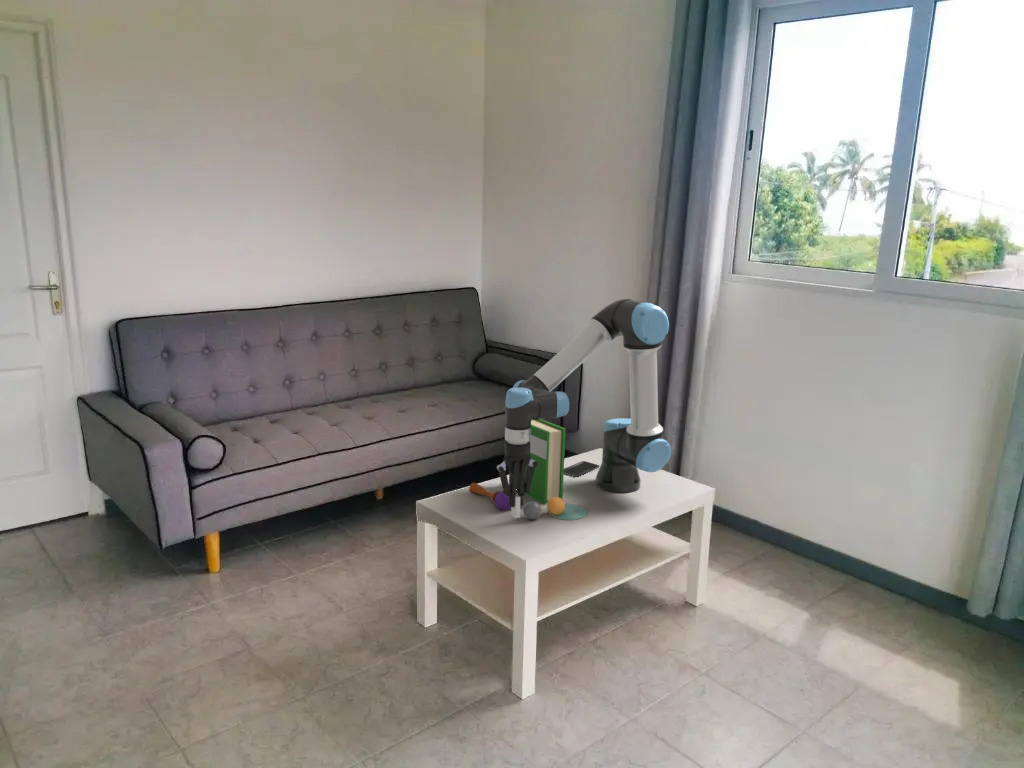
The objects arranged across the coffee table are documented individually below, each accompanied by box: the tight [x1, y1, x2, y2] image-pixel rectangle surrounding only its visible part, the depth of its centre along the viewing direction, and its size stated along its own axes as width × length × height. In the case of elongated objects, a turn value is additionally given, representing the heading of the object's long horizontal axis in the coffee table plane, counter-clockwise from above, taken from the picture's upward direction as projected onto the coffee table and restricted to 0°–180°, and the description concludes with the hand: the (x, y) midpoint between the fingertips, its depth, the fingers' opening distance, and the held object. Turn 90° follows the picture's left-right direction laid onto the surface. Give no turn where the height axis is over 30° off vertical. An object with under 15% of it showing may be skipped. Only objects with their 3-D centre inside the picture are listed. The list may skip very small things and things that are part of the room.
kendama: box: [468, 482, 512, 511], centre depth 240 cm, size 6×6×20 cm
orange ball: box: [546, 497, 566, 515], centre depth 231 cm, size 6×6×6 cm
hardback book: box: [516, 419, 567, 505], centre depth 245 cm, size 18×7×24 cm, turn 36°
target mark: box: [547, 503, 588, 521], centre depth 233 cm, size 12×12×1 cm
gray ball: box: [522, 500, 542, 520], centre depth 227 cm, size 6×6×6 cm
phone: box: [564, 460, 601, 478], centre depth 270 cm, size 8×1×15 cm
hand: (515, 515), depth 225 cm, fingers closed
